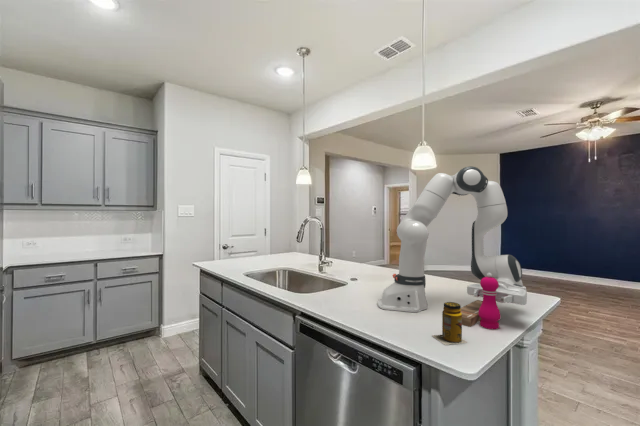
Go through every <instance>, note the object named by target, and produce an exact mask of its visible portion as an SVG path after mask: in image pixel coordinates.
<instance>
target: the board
mask: <svg viewBox="0 0 640 426" xmlns="http://www.w3.org/2000/svg"><path fill="white" fill-rule="evenodd" d="M482 301H483V300H481V299H480V300H479V299H476V300H474V301H472V302H470V303H468V304H465V305H464V306H462V307H461V308H460V309H461V313H462V326H465V327H468V328H472V327H473V326H475V325H476V324H478V323H480V320H481V318H480V317H479V314H478V313H479V308H480V306H481V304H482Z"/></svg>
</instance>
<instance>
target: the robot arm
mask: <svg viewBox="0 0 640 426" xmlns="http://www.w3.org/2000/svg"><path fill="white" fill-rule="evenodd" d="M451 195H457V196H468V195H471V196H472V197H473V198H474V200H475V201H476V207H477V217H476V219H475V220H474V221H473V222H472V225H471V226H472V227H471V260H470V261H471V262H470V270H471V274H472V275H473V276H474V277H475V278H477V279H479V280H480V281H481V279H482V278H484V277H487V273H491V274H492V277H493V278H495V279H496V280H497V281H498V284H499V287H498V288H497V289H496V291H497V295H496V303H497V302H498V303H501V304H502V303H504V304H505V303H507V304H508V303H509V304H516V305H521V306H526V305H527V302H528V300H527V299H528V293H527V292H528V291H527V287H526V286H525V285H524V283H523V280H522V279H523V269H522V266H521V263H520V261H519V260H518V259H517V258H516V256H514V255H512V254H499V255H498V254H497V255H484V254H485V253H484V249H485V248H484V239H485V235H486V234H487V233H488V232H491V230H493V229H495V228H497V227H499V226H501V225H502V224H503V223H504V222H505V221H506V219H507V217H508V206H507V202H506V198H505V196H504V192H503V189H502V187H501V185H500V184H499V182H498V181H497V182H496V181H493V180H489V179H488V178H487V176H486V175H485V174H484V173H483V172H482V170H481V169H480V168H478V167H476V166H470V165H469V166H465V167H463V168H461V169H460V170H459V171H457V172H456V173H455V174H453V175H449V174H448V173H445V172H439V173H436V174H434V175H433V176H432V178H431V179H430V180H429V181H428V182H427V184H426V185H425V186H424V188H423V190H422V191H421V193H420V194H419V196H418V197H417V200H416V201H415V203H414V204H413V205H412V206H411V208H410V210H408V212H407V213H405V216H404V217H403V218H402V219H401V221H400V222H399V223H398V225H397V228H396V236H397V237H398V239H399V240H400V249H399V256H398V274H396V273H393V274H392V278H393V279H394V280H393V281H394V282H393V283H391V284H389V286H386V288H384V289H383V292H382V295H381V298H379V299H377V301H376V305H377V307H378V308H379V309H381V310H386V311H387V310H389V311H399V312H407V313H408V312H410V313H419V312H420V311H424V310H427V309H428V308H429V305H428V302H427V296H426V287H427V286H426V281H427V279H426V275H425V258H426V257H425V254H426V249H427V244H428V243H427V242H428V238H429V234H430V233H429V230H428V228H427V227H428V226H429V225H431V223H432V222H433V220H435V218H437V216H438V215H439V213H440V212H441V210H442V209H443V206H444V205H445V204H446V203H447V200H448V198H449V197H450V196H451ZM482 289H483V288H482V287H481V285H480V283H471V284H469V285H467V286H466V293H467V295H468V296H469V295H470V296H473V297H475V298H483V294H482Z"/></svg>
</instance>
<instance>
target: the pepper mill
mask: <svg viewBox="0 0 640 426" xmlns="http://www.w3.org/2000/svg"><path fill="white" fill-rule="evenodd" d="M479 284H480V285H481V287H482V288H483V289H482V294H483V297H482V300H481V301H482V304H481V306H480V308H479V313H478V314H479V317H480V318H481V320H480V321H479V326H480V327H482V328H484V329H487V330H498V329H500V322H499V321H500V320H501V317H502V316H501V311H500V309H499V306H498V305H497V304H498V303H497V301H496V295H497V291H496V289H497V288H498V287H499V284H498V281H497V278H493V277H492V274H491V273H487V277H484V278H482V279H481V280H480V282H479Z"/></svg>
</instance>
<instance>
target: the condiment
mask: <svg viewBox="0 0 640 426" xmlns="http://www.w3.org/2000/svg"><path fill="white" fill-rule="evenodd" d="M460 308H462V307H461V304H460V303H457V302H452V301H446V302H443V310H442V312H441V313H442V314H441V315H442V316H441V318H442V321H441V322H442V323H441V326H442V327H441V328H442V331H441V332H442V334H434V335H433V334H432V335H431V337H433V338H434V339H436V340H437V341H438V342H439V341H440V343H441V344H443V345H444V346H447V345H448V346H450V345H459V344H466V343H468V341H466V340H465V339H463V325H462V313H461V309H460Z"/></svg>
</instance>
